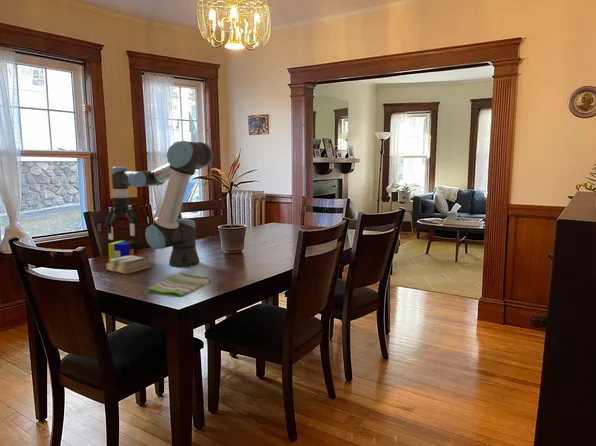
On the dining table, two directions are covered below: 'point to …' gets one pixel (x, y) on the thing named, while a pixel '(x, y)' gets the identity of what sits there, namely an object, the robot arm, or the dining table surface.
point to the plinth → (127, 269)
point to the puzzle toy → (122, 249)
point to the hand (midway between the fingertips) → (122, 237)
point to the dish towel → (179, 285)
